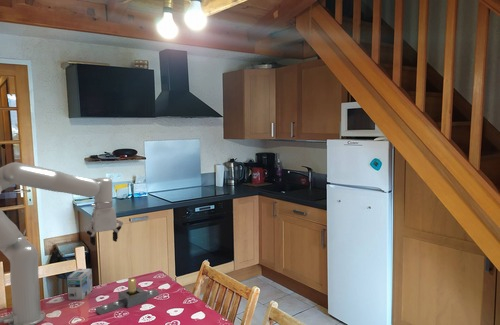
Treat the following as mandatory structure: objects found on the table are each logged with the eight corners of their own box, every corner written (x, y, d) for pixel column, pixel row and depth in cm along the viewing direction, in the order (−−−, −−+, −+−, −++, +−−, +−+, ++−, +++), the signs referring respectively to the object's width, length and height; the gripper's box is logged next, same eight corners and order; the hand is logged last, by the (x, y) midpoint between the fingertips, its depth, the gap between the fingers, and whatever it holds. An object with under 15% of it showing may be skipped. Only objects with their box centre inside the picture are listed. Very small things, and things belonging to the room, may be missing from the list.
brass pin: (131, 303, 162) (130, 281, 162) (127, 301, 165) (126, 279, 164) (137, 301, 165) (136, 279, 164) (134, 299, 167) (133, 277, 166)
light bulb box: (82, 300, 167) (81, 276, 166) (67, 300, 167) (66, 276, 167) (93, 290, 178) (92, 268, 177) (79, 290, 178) (78, 268, 177)
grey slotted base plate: (102, 316, 151) (101, 307, 151) (93, 309, 157) (93, 300, 157) (161, 296, 169) (161, 287, 169) (151, 290, 176) (151, 282, 176)
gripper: (86, 208, 159) (87, 248, 160) (125, 204, 170) (126, 241, 171) (80, 206, 165) (81, 244, 166) (119, 202, 176) (119, 238, 177)
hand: (104, 242), depth 168 cm, fingers open, 9 cm apart
